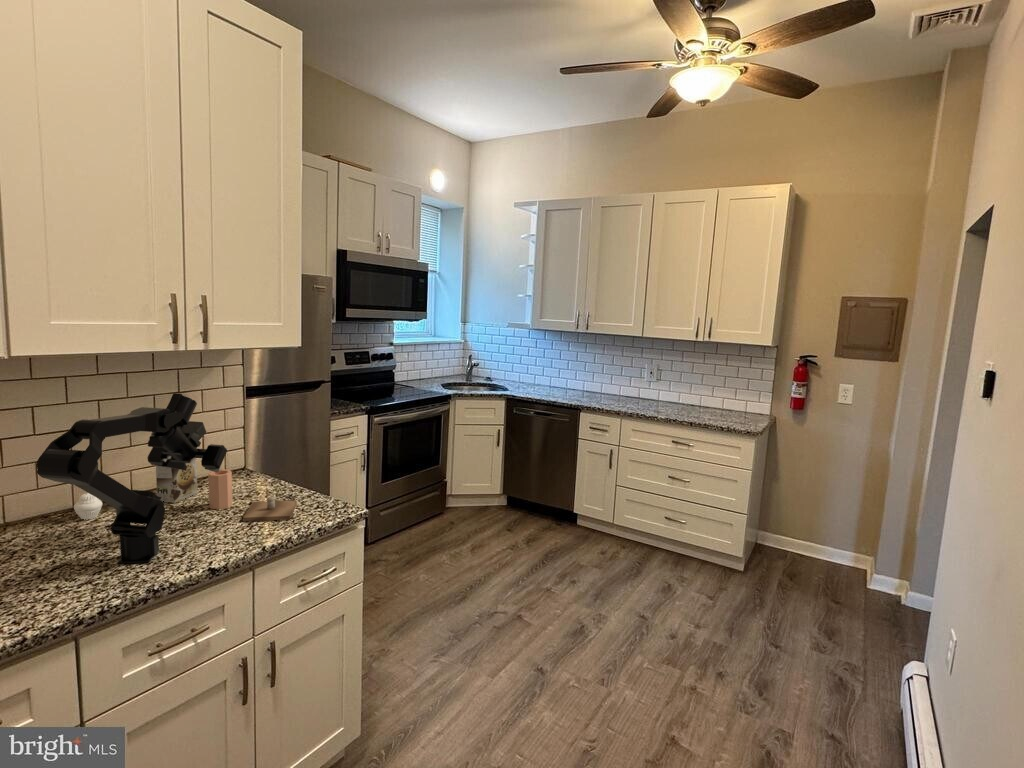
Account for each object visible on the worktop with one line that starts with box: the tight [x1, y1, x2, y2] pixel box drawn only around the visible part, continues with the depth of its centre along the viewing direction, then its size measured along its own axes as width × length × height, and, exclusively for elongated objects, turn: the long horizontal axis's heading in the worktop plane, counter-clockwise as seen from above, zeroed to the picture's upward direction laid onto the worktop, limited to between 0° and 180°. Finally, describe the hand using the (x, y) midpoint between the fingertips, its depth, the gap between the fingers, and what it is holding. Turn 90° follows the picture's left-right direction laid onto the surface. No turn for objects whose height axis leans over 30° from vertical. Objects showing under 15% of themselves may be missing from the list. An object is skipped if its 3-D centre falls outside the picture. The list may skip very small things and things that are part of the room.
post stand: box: [242, 496, 298, 523], centre depth 158 cm, size 12×12×5 cm
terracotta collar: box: [207, 468, 234, 510], centre depth 161 cm, size 6×6×10 cm
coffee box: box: [155, 458, 198, 504], centre depth 165 cm, size 9×6×16 cm
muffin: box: [73, 492, 103, 521], centre depth 149 cm, size 6×6×7 cm
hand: (202, 469), depth 152 cm, fingers open, 9 cm apart
